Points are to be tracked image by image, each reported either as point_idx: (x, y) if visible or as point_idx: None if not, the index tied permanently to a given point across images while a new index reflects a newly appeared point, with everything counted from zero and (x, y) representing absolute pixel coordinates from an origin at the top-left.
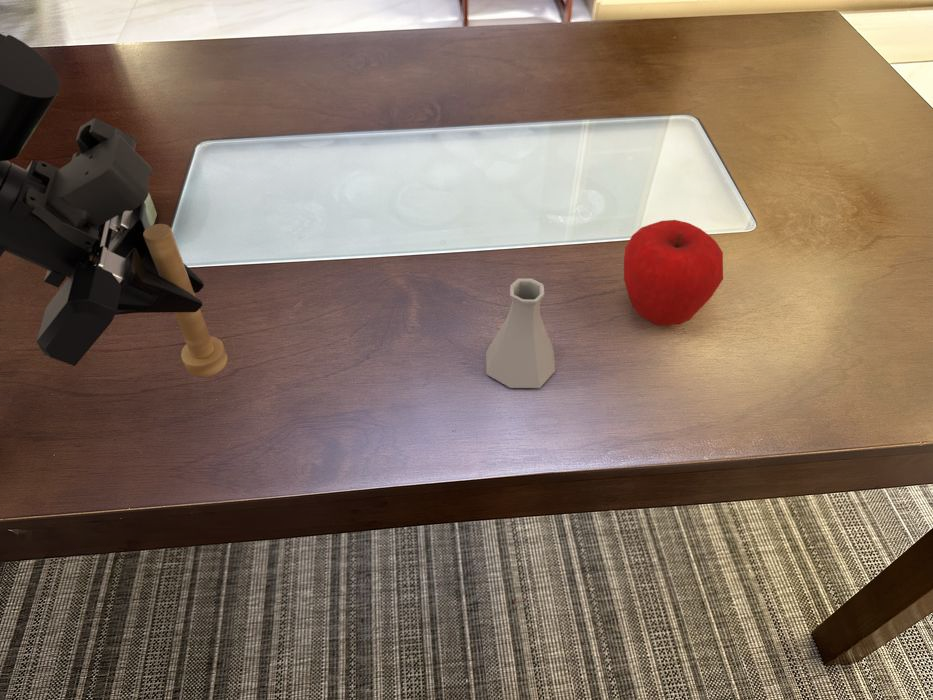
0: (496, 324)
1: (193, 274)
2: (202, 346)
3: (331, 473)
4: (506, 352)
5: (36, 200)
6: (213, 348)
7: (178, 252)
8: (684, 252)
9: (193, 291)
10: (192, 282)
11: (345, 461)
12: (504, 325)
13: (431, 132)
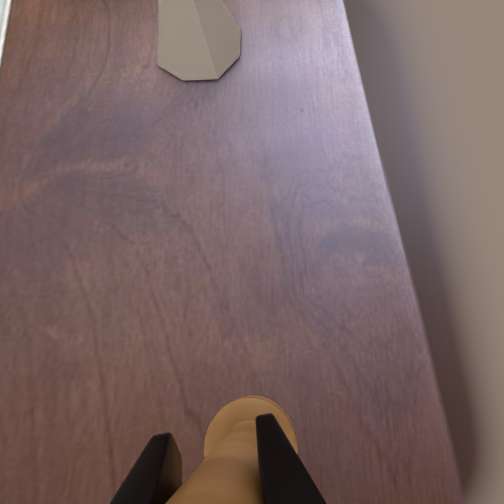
0: (134, 74)
1: (138, 476)
2: None
3: (377, 238)
4: (212, 25)
5: None
6: (248, 420)
7: None
8: None
9: (212, 461)
10: (166, 476)
11: (356, 224)
12: (180, 6)
13: None
